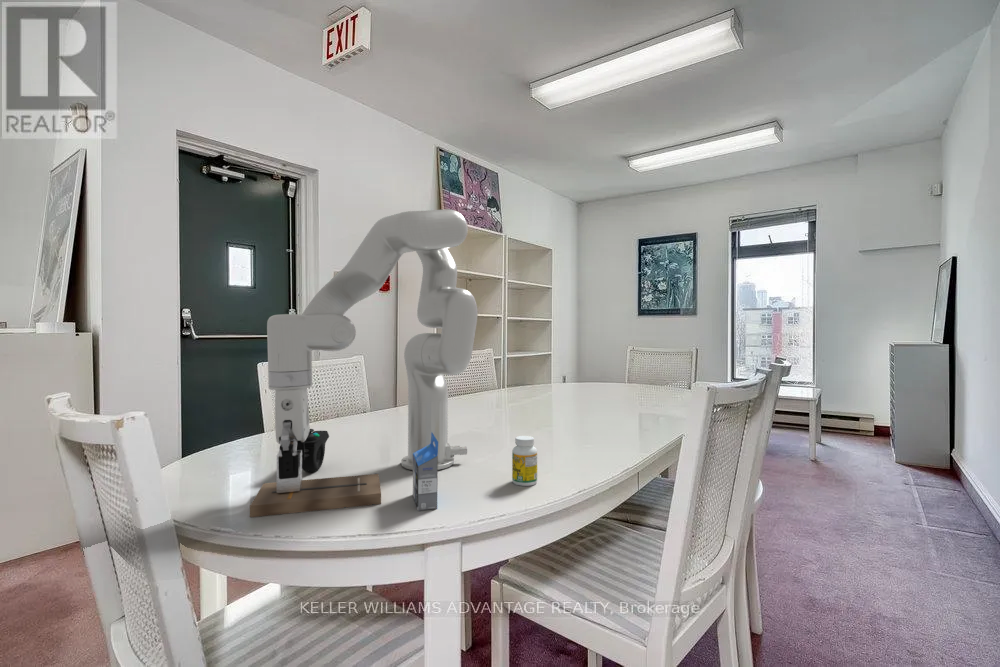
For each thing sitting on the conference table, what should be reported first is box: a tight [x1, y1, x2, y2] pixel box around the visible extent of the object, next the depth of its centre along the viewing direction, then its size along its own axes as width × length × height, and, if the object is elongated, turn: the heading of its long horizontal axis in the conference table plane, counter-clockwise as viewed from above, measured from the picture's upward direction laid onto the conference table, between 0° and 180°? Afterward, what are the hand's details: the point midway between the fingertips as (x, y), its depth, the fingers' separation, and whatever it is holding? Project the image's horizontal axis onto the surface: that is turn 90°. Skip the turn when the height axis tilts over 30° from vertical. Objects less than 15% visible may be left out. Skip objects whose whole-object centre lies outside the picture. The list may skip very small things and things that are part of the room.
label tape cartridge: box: [412, 432, 439, 512], centre depth 87 cm, size 9×4×12 cm, turn 17°
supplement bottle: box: [511, 435, 538, 487], centre depth 99 cm, size 5×5×10 cm
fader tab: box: [276, 450, 303, 493], centre depth 87 cm, size 4×3×7 cm
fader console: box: [249, 473, 382, 518], centre depth 89 cm, size 22×12×2 cm, turn 107°
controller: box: [302, 428, 330, 472], centre depth 107 cm, size 4×12×10 cm, turn 5°
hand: (292, 469), depth 87 cm, fingers open, 9 cm apart
